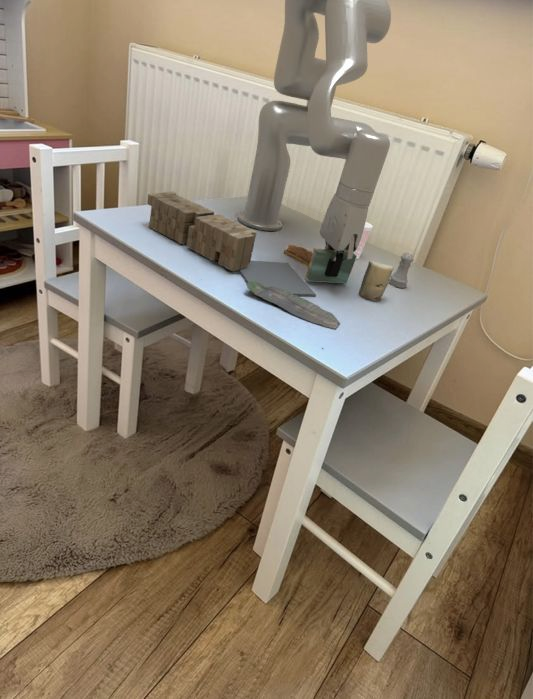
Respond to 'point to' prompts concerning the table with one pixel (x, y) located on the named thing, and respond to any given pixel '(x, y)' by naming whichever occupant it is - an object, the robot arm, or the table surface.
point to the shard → (299, 254)
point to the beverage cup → (363, 239)
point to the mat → (276, 277)
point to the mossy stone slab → (294, 304)
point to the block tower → (202, 230)
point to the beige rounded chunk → (375, 280)
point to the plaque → (320, 264)
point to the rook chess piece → (402, 271)
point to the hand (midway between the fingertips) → (328, 273)
